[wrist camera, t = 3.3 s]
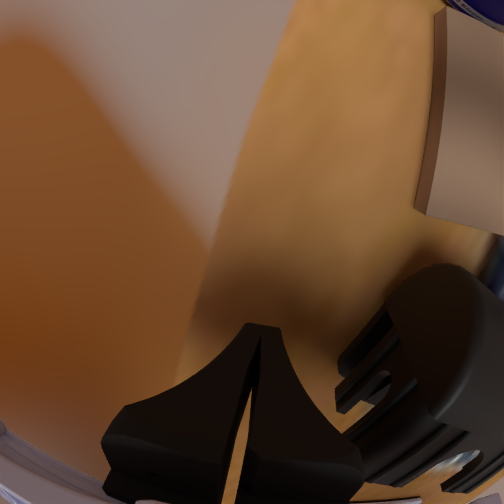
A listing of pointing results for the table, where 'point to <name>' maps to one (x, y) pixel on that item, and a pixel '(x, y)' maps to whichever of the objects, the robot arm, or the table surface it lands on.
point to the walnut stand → (465, 126)
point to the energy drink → (482, 11)
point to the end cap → (429, 380)
